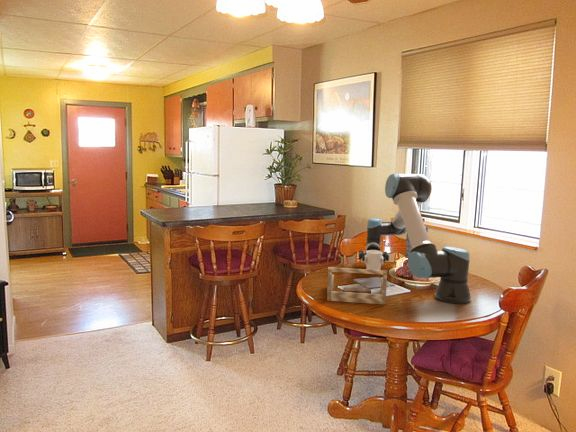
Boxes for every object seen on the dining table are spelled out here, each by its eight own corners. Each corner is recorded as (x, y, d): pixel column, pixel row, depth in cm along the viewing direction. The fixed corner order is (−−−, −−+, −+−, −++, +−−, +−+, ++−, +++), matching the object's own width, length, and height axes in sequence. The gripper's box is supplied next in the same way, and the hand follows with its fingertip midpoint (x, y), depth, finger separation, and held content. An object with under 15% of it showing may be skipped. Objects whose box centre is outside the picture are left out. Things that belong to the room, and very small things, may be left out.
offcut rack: (383, 289, 226) (385, 259, 224) (385, 304, 205) (387, 271, 203) (330, 286, 230) (331, 256, 228) (327, 300, 209) (328, 267, 207)
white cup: (381, 274, 232) (382, 254, 230) (364, 272, 233) (365, 253, 232) (381, 269, 239) (382, 250, 238) (365, 268, 241) (366, 249, 239)
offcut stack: (369, 297, 215) (370, 287, 215) (372, 301, 209) (372, 291, 209) (339, 297, 215) (339, 287, 214) (340, 301, 209) (341, 290, 208)
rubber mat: (394, 285, 233) (394, 284, 232) (367, 288, 227) (367, 287, 227) (378, 277, 246) (378, 276, 246) (352, 280, 241) (352, 279, 241)
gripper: (392, 258, 253) (395, 270, 231) (353, 256, 257) (352, 267, 234) (393, 244, 252) (395, 255, 230) (354, 242, 255) (353, 252, 233)
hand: (374, 261), depth 232 cm, fingers closed on white cup, 8 cm apart
